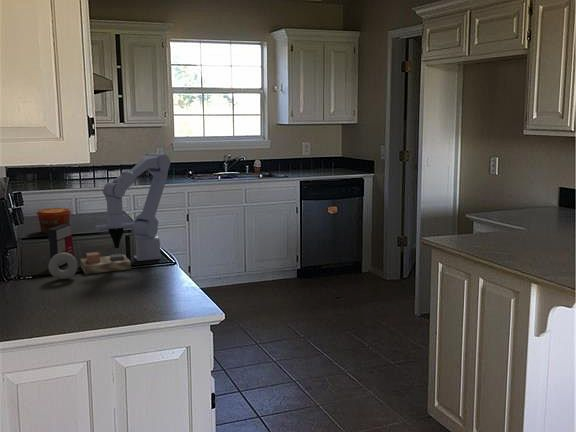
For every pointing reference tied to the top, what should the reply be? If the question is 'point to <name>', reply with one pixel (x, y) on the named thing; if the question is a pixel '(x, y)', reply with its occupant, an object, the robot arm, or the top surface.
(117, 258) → the gray cube
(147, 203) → the robot arm
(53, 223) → the food container
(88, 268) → the tan flat rectangular block
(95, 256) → the brown cube
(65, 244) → the grey and red box
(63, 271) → the donut
